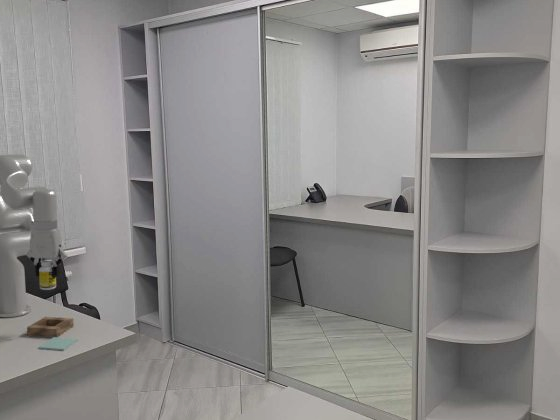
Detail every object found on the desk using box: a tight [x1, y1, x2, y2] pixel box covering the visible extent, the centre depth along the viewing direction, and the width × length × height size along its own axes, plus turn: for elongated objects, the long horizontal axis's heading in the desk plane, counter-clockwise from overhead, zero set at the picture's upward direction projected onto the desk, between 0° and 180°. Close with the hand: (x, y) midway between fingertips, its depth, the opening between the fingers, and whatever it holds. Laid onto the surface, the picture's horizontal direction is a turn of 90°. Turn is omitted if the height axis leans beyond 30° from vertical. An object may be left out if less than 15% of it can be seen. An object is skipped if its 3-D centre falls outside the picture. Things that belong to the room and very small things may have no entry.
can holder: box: [26, 316, 75, 338], centre depth 195 cm, size 11×11×3 cm
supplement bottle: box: [38, 259, 57, 291], centre depth 193 cm, size 5×5×10 cm
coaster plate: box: [38, 336, 79, 351], centre depth 183 cm, size 9×9×1 cm
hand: (47, 275), depth 193 cm, fingers closed on supplement bottle, 5 cm apart
